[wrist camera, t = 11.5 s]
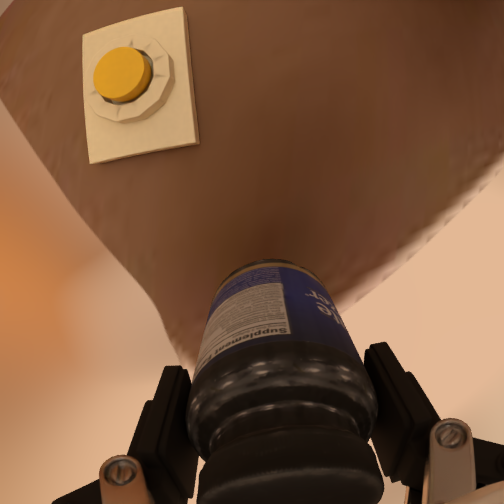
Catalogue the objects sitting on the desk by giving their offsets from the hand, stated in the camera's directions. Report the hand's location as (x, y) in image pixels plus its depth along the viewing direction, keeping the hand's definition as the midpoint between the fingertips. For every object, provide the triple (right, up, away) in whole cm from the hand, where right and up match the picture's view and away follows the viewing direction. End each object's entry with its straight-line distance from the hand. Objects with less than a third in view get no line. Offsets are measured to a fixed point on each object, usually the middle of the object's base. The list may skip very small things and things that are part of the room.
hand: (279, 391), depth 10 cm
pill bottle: (0, +2, +6) cm, 6 cm away
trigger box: (-10, +19, +12) cm, 25 cm away
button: (-10, +18, +9) cm, 22 cm away
